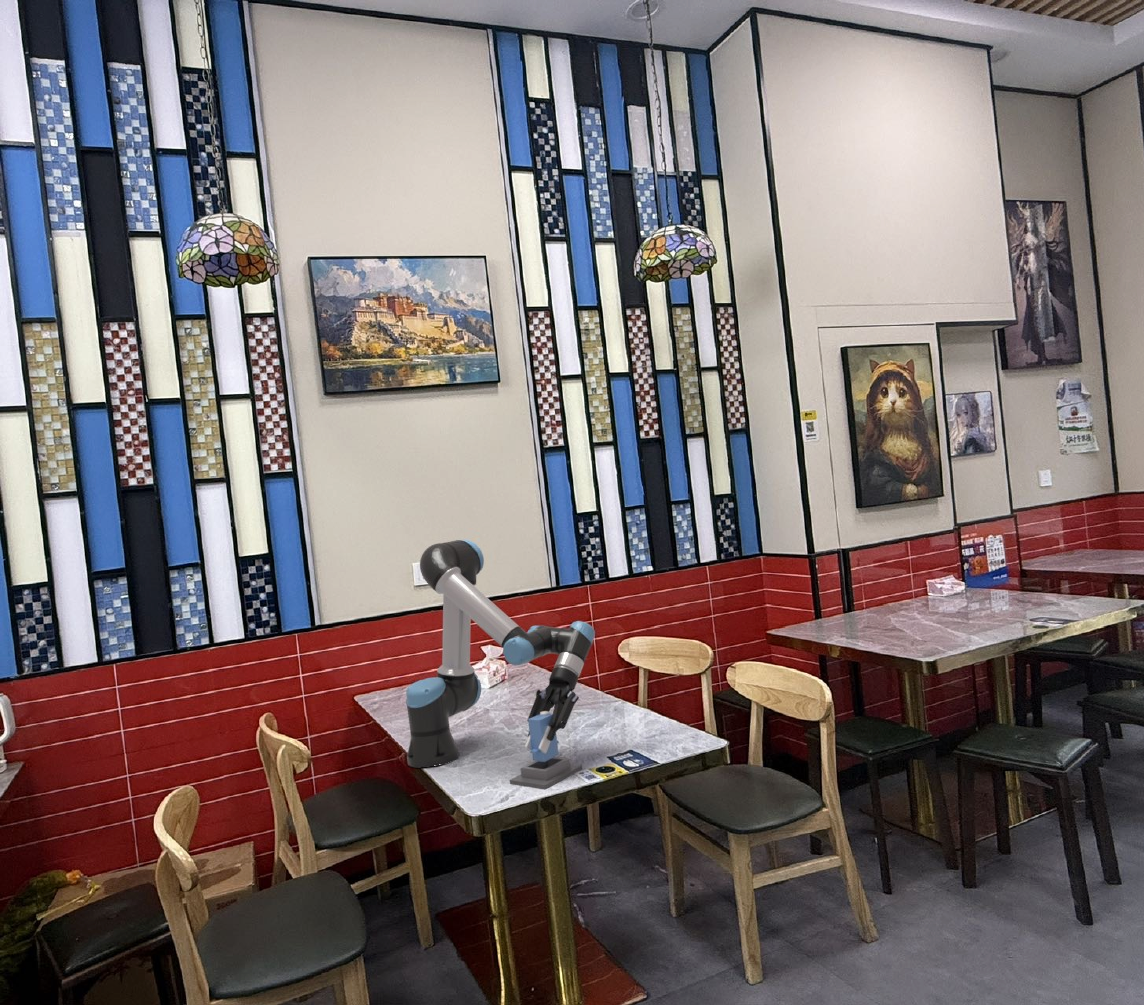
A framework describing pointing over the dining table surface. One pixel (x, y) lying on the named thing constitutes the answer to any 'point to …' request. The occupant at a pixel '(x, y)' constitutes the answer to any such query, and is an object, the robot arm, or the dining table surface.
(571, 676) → the robot arm
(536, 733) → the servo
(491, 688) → the dining table surface
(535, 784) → the chassis
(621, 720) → the dining table surface
